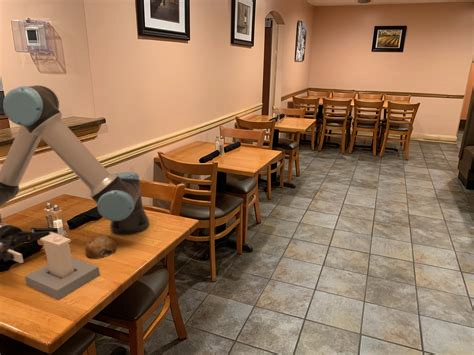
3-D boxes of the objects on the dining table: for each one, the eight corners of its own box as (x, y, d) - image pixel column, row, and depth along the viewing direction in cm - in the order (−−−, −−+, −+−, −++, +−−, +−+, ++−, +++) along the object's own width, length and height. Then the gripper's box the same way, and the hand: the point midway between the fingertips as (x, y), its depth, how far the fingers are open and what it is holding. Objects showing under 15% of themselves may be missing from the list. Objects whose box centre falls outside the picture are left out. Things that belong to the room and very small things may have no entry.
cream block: (60, 273, 113) (52, 231, 109) (78, 280, 109) (70, 236, 105) (48, 279, 110) (39, 236, 106) (66, 287, 106) (57, 242, 101)
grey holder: (67, 263, 119) (66, 255, 118) (99, 275, 111) (98, 266, 110) (26, 284, 108) (24, 276, 107) (58, 299, 100) (57, 290, 99)
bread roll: (96, 269, 122) (99, 253, 118) (77, 252, 125) (79, 235, 121) (119, 257, 130) (122, 241, 126) (100, 240, 133) (103, 224, 129)
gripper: (43, 231, 132) (79, 242, 122) (-33, 262, 112) (4, 279, 101) (39, 212, 130) (76, 222, 120) (-39, 240, 109) (-2, 255, 99)
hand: (43, 248), depth 110 cm, fingers open, 13 cm apart
